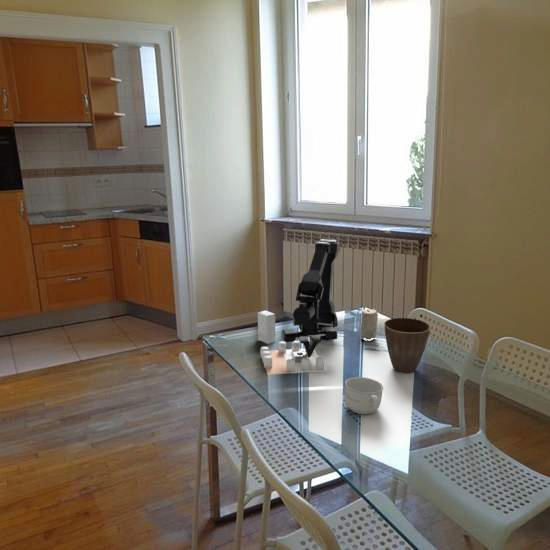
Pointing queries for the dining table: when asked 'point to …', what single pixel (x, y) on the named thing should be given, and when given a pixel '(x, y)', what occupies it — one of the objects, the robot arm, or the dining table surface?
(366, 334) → the beige upright cylinder
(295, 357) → the nut
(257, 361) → the dining table surface
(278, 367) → the board
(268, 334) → the skincare box
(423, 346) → the plant pot
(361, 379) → the teacup
